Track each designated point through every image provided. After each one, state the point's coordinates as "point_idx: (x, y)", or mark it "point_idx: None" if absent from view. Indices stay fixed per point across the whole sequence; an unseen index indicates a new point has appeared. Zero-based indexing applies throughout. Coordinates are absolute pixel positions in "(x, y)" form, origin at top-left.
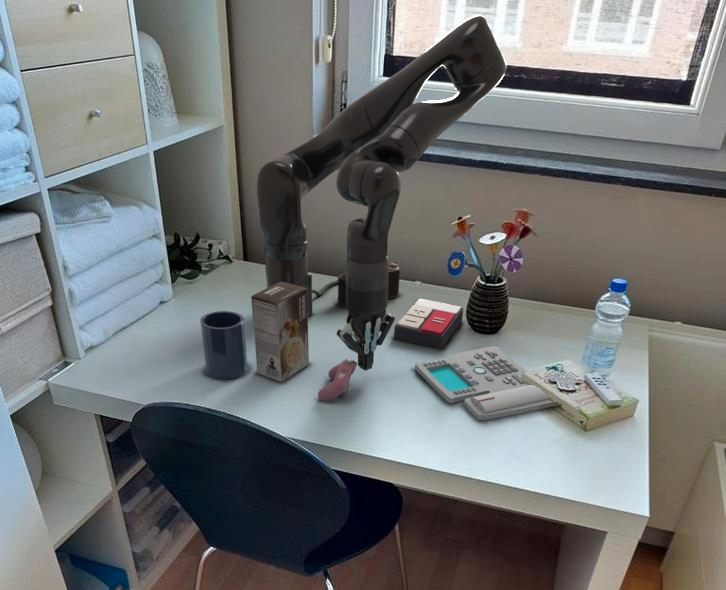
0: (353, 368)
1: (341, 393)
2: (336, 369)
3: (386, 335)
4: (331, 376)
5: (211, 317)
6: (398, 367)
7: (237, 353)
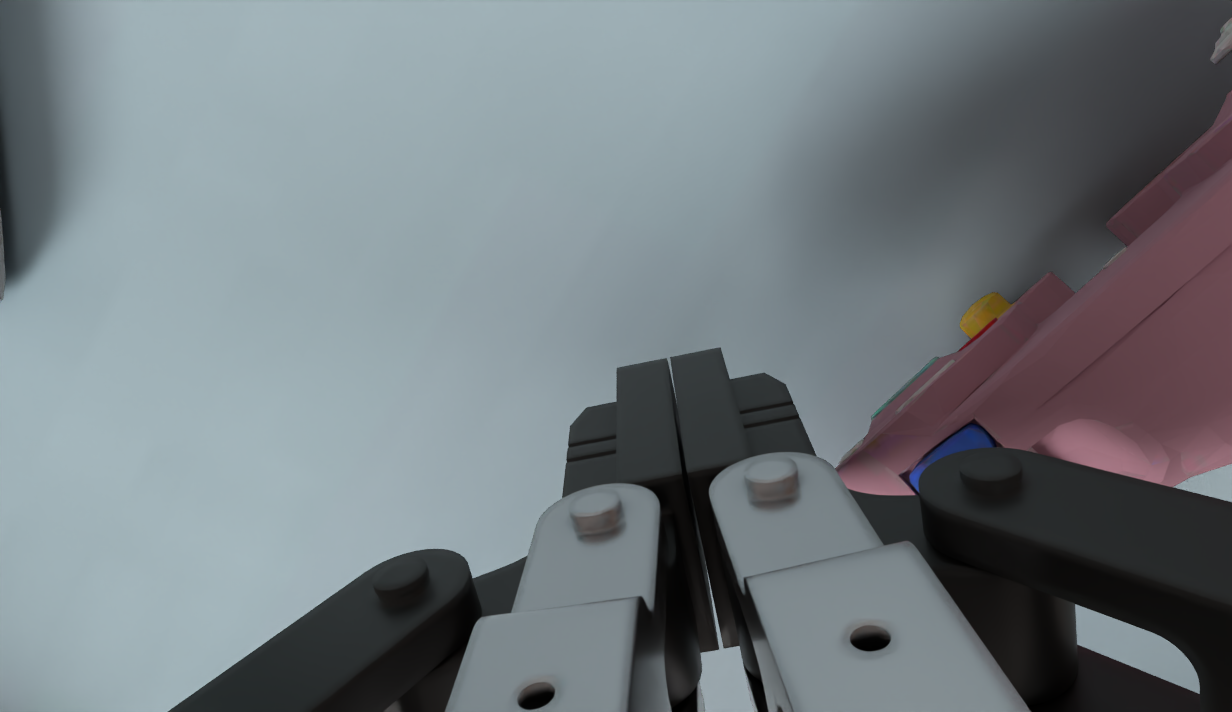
0: (999, 350)
1: None
2: None
3: (200, 690)
4: None
5: None
6: (180, 428)
7: None
